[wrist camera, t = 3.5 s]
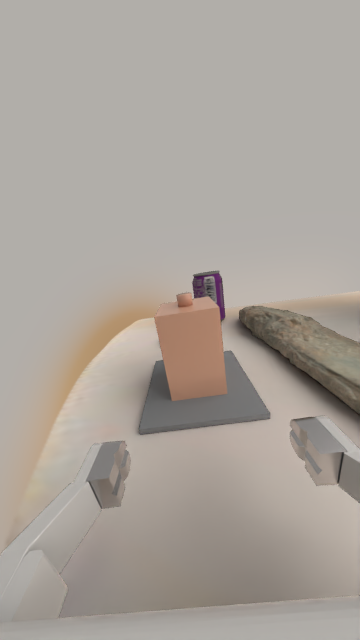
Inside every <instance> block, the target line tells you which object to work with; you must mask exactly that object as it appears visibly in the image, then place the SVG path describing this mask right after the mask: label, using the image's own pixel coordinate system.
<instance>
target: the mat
mask: <svg viewBox="0 0 360 640" xmlns="http://www.w3.org/2000/svg"><path fill="white" fill-rule="evenodd" d="M224 363H225V374H226V385H227V394H223V395H215V396H207V397H200V398H192V399H184V400H177V401H172V399H171V394H170V389H169V384H168V380H167V375H166V370H165V366H164V361H163V360H162V361H156V363H155V367H154V371H153V375H152V379H151V383H150V387H149V391H148V395H147V399H146V402H145V406H144V410H143V414H142V418H141V422H140V426H139V433H140V434H148V433H156V432H164V431H172V430H180V429H188V428H197V427H205V426H213V425H221V424H229V423H237V422H246V421H254V420H262V419H270V413H269V411H268V409H267V408H266V406H265V405H264V403H263V401H262V400H261V398H260V396H259V395H258V393H257V392H256V390H255V388H254V387H253V385H252V383H251V382H250V380H249V379H248V377H247V375H246V374H245V372H244V371H243V369H242V367H241V366H240V364H239V362H238V361H237V359H236V358H235V356H234V354H233V353H232V351H225V352H224Z"/></svg>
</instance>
